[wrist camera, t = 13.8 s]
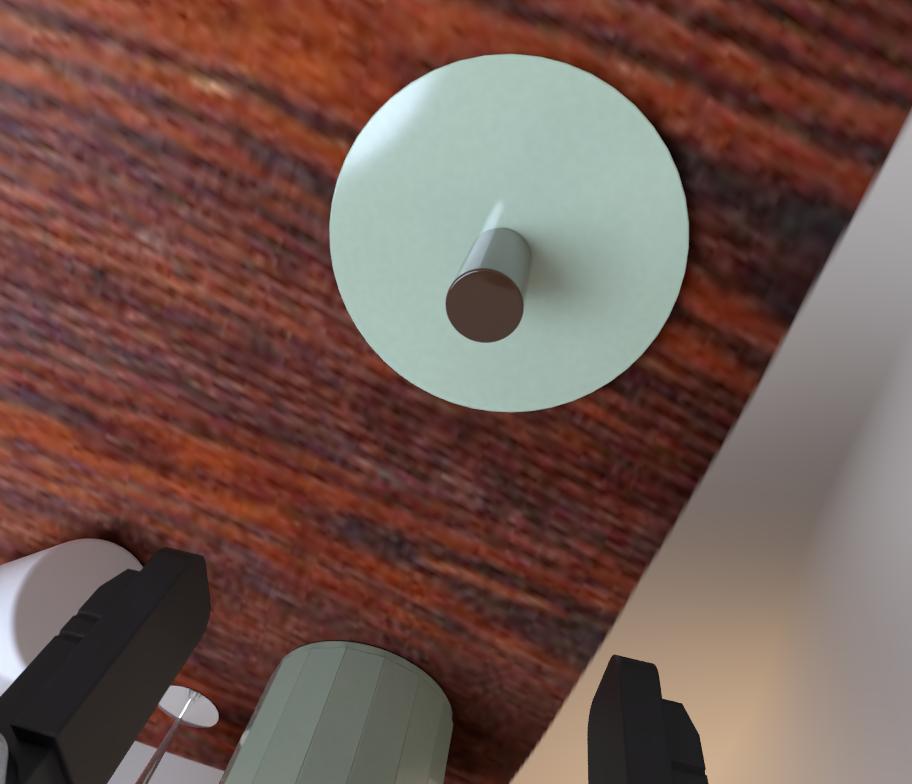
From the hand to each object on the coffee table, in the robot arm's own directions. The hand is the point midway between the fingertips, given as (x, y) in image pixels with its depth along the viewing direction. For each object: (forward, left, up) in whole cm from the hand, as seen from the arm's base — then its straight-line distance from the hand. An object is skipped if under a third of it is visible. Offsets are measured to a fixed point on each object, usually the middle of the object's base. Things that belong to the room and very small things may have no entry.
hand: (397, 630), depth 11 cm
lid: (0, -3, -15) cm, 15 cm away
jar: (+4, +29, -16) cm, 33 cm away
